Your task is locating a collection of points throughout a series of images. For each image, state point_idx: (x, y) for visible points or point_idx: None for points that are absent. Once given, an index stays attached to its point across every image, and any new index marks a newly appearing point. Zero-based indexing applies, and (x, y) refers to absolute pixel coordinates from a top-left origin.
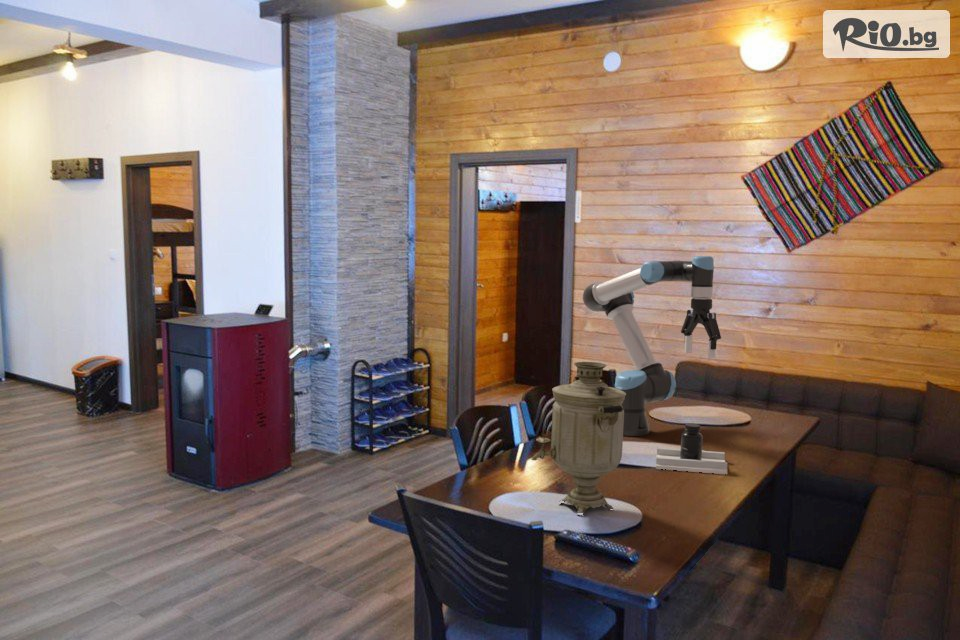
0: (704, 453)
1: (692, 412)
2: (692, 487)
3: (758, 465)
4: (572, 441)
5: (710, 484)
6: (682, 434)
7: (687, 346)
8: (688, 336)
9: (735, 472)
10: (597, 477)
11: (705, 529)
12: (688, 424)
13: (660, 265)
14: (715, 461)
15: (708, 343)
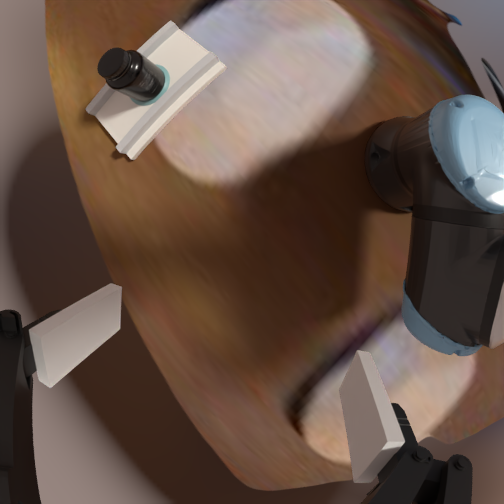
0: (142, 118)
1: (411, 405)
2: (96, 33)
3: (92, 193)
4: None
5: (86, 60)
6: (133, 50)
7: (362, 388)
8: (375, 453)
9: (90, 128)
10: None
11: (48, 3)
12: (117, 55)
13: None
14: (100, 97)
15: (56, 325)
